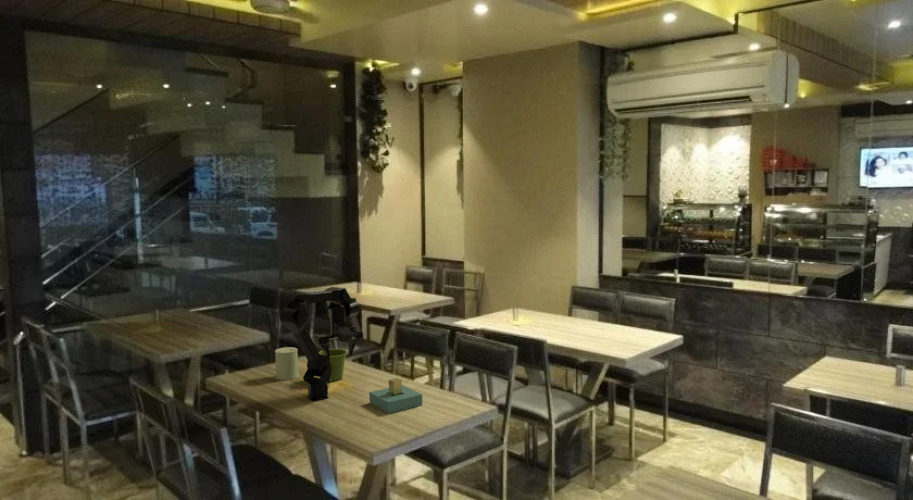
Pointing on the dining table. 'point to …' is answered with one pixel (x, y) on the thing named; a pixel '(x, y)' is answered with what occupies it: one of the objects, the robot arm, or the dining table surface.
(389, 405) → the socket block
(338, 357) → the plant pot
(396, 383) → the peg
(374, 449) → the dining table surface
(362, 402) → the dining table surface
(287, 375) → the can
